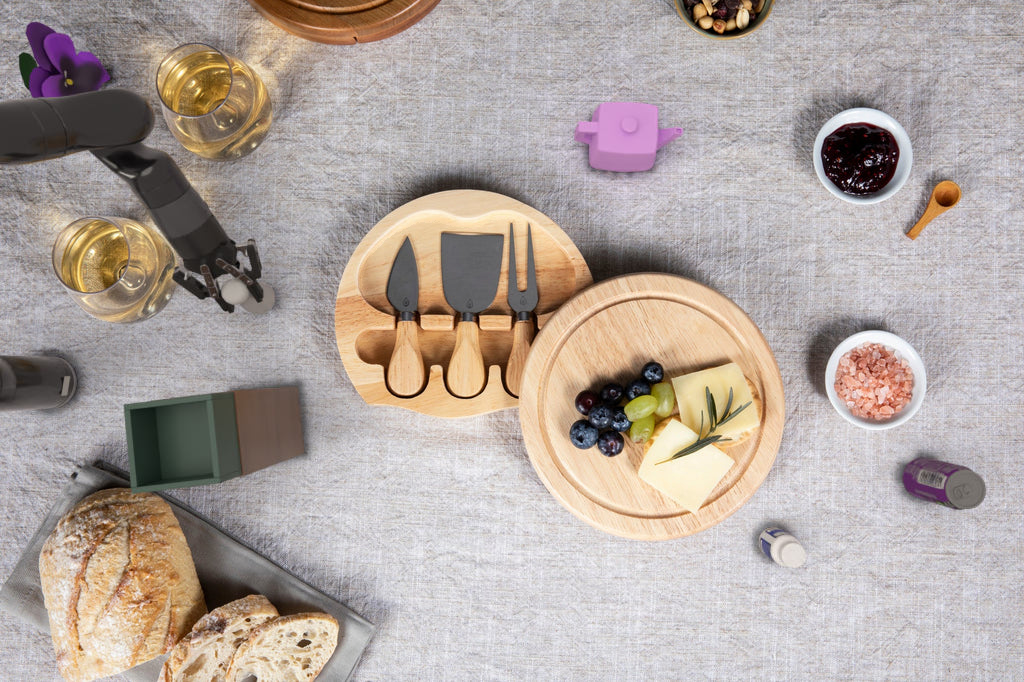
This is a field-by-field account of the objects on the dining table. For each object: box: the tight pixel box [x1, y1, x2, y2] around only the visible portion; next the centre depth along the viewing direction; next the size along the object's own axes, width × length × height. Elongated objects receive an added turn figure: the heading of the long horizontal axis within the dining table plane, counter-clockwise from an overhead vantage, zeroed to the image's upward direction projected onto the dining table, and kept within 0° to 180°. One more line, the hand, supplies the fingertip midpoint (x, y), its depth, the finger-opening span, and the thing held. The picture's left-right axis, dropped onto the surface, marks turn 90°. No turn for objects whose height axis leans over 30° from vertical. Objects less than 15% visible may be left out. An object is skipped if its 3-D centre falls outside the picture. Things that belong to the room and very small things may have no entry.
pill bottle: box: [758, 526, 807, 569], centre depth 112 cm, size 5×5×9 cm
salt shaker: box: [220, 278, 276, 315], centre depth 112 cm, size 6×6×13 cm
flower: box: [18, 21, 111, 98], centre depth 117 cm, size 15×15×14 cm
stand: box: [151, 385, 306, 478], centre depth 105 cm, size 12×12×26 cm
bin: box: [123, 392, 242, 495], centre depth 89 cm, size 12×12×7 cm
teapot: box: [573, 101, 684, 173], centre depth 115 cm, size 18×10×10 cm, turn 87°
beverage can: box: [902, 457, 987, 511], centre depth 110 cm, size 7×7×12 cm
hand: (246, 304), depth 110 cm, fingers closed on salt shaker, 4 cm apart
